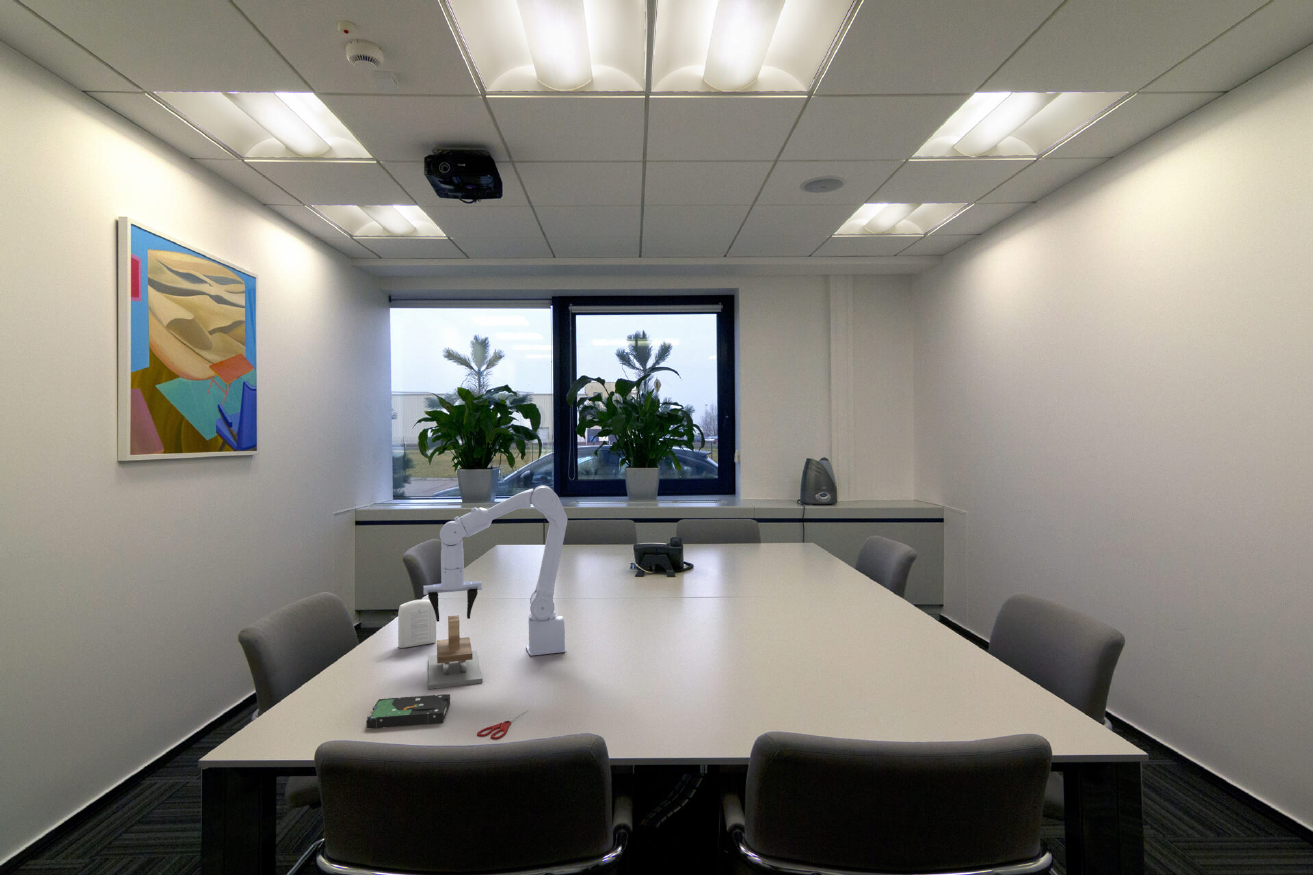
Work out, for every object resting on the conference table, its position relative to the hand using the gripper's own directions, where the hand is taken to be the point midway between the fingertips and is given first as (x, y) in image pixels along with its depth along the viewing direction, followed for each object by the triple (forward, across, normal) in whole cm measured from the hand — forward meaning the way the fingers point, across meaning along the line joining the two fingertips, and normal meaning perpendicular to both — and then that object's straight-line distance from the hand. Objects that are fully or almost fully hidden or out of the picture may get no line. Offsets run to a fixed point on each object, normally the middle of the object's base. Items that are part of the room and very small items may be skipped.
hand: (453, 619), depth 176 cm
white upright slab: (+10, +9, -15) cm, 20 cm away
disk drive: (+11, +10, +36) cm, 39 cm away
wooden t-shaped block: (+5, 0, +11) cm, 13 cm away
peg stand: (+10, 0, +11) cm, 15 cm away
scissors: (+11, -9, +47) cm, 49 cm away
